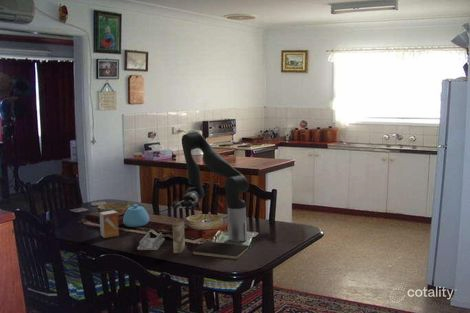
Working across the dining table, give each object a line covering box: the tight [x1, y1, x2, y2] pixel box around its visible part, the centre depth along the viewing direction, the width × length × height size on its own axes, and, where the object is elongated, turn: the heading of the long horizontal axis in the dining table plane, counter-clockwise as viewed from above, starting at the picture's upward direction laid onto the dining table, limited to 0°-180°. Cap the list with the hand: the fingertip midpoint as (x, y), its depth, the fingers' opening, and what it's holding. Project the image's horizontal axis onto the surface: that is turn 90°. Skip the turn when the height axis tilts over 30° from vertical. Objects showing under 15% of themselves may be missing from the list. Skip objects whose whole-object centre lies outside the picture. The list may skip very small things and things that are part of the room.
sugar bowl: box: [122, 204, 150, 228], centre depth 307 cm, size 15×15×12 cm
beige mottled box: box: [171, 218, 186, 254], centre depth 259 cm, size 4×10×14 cm, turn 174°
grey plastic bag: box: [136, 232, 166, 251], centre depth 269 cm, size 10×16×4 cm, turn 174°
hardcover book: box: [192, 240, 250, 260], centre depth 256 cm, size 16×23×2 cm
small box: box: [98, 210, 120, 239], centre depth 286 cm, size 8×6×13 cm
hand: (183, 208), depth 273 cm, fingers open, 8 cm apart
